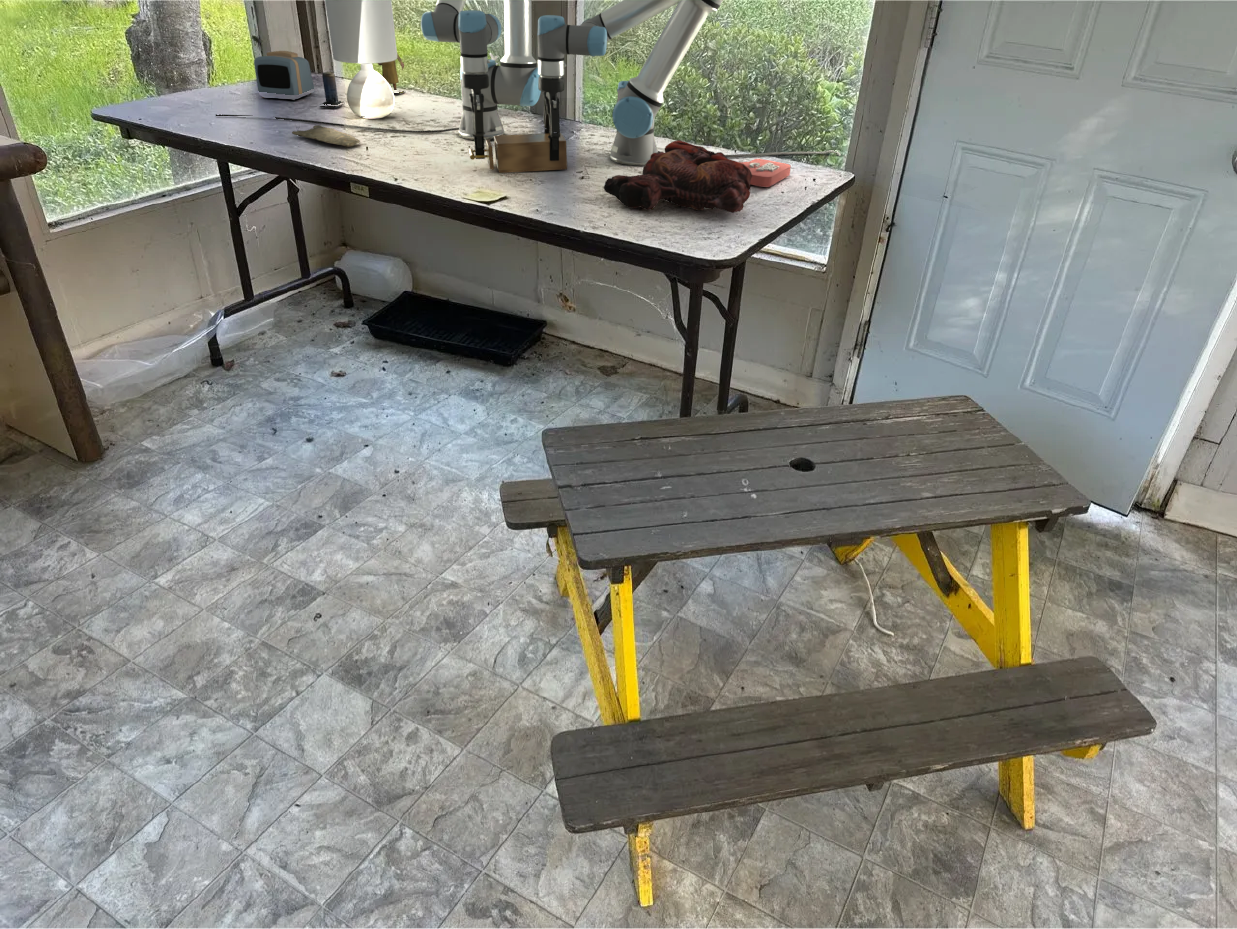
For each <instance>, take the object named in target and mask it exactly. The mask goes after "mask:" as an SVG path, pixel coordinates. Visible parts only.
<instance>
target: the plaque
mask: <svg viewBox="0 0 1237 929" xmlns="http://www.w3.org/2000/svg"><path fill="white" fill-rule="evenodd" d="M739 162H740V163H742V164H744V165H745V166H746V167H747V168H749V169H750V171H751V173H752V178H751V180H750V186H751V185H752V186H755V187H762V188H769V187H772V186H773V185H775V184H777V183H779V182H780V181H782V180H784V179H786V178H788V177H789V176H790V175H791V168H792V165H791V164H789V163H786V162H781V161H775V160H769V159H763V158H754V159H752V160H749V161H739Z"/></svg>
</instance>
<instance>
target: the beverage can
mask: <svg viewBox="0 0 1237 929" xmlns="http://www.w3.org/2000/svg"><path fill="white" fill-rule="evenodd" d="M321 77H322V85H323V91H324V97H325V101H323V102H322V103H321V104H324V105H325V104H326V105H327V104H331V105H338V104H340V103H342V102H344V104H342V105H339V106H337V107H333V106H319V108H321V109H322V108H326V107H327V108H328V109H333V108H334V109H335V110H337V109H338V108H341V107H342V106H344V105H345V101H342V100H339V97H338V95H339V94H338V88H337V82H336V74H334V72H333V71H323V72H322V74H321Z"/></svg>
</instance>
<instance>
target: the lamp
mask: <svg viewBox="0 0 1237 929" xmlns="http://www.w3.org/2000/svg"><path fill="white" fill-rule="evenodd" d="M324 3H325V9H326V18H327V23H328V30H329V37H330V45H331V51H332V58H333V60H334V61H336V62H341V63H348V64H360V70H358V71H357V72H356V74H354V76H353V77H352V79H351V80H350V82H349V84H348V87H347V92H346V101H347V104H348V107H349V109H350V110H351V112H352V113H354V115H356V116H358V117H360V118H362V119H368V120H369V119H370V120H371V119H372V120H375V119H382V118H385V117H387V116H389V115H390V114H391V113H392V111H393V110H394V107H395V103H396V102H395V95H394V94H393V91H392V90H393V89H392V87H391V84H390V85H389V84H388V82H387V81H386V80H385V79H384V78H383V77H382V74H380V73H379V72H378V71H376V70H375V68H374V67H373V64H378V63H383V62H390V61H394V60H398V59H397V53H398V50H397V40H396V31H395V21H394V13H393V2H392V0H324ZM361 116H365V117H361Z"/></svg>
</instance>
